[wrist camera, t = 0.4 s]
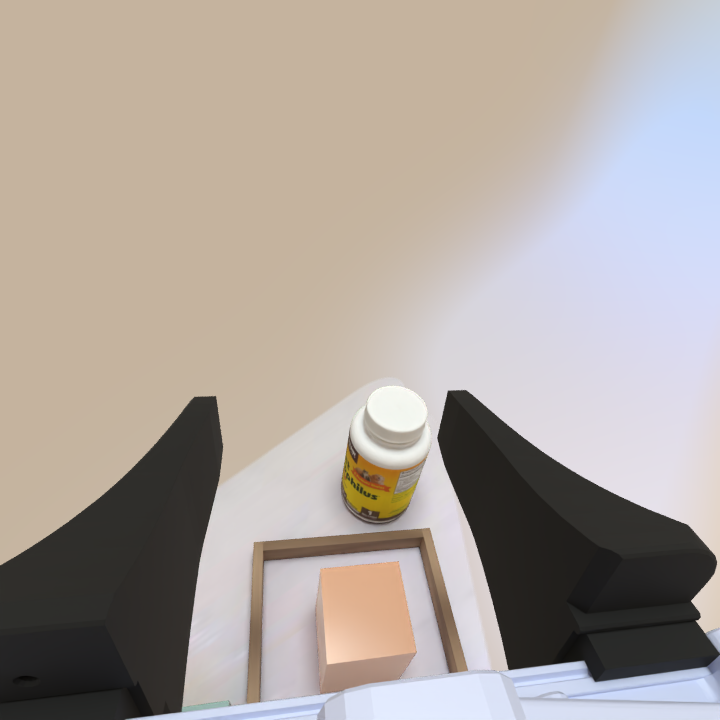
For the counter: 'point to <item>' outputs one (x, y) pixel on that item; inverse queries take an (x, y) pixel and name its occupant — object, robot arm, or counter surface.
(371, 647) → the terracotta block
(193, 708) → the teal tray
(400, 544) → the walnut frame
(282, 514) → the counter surface
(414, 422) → the supplement bottle
